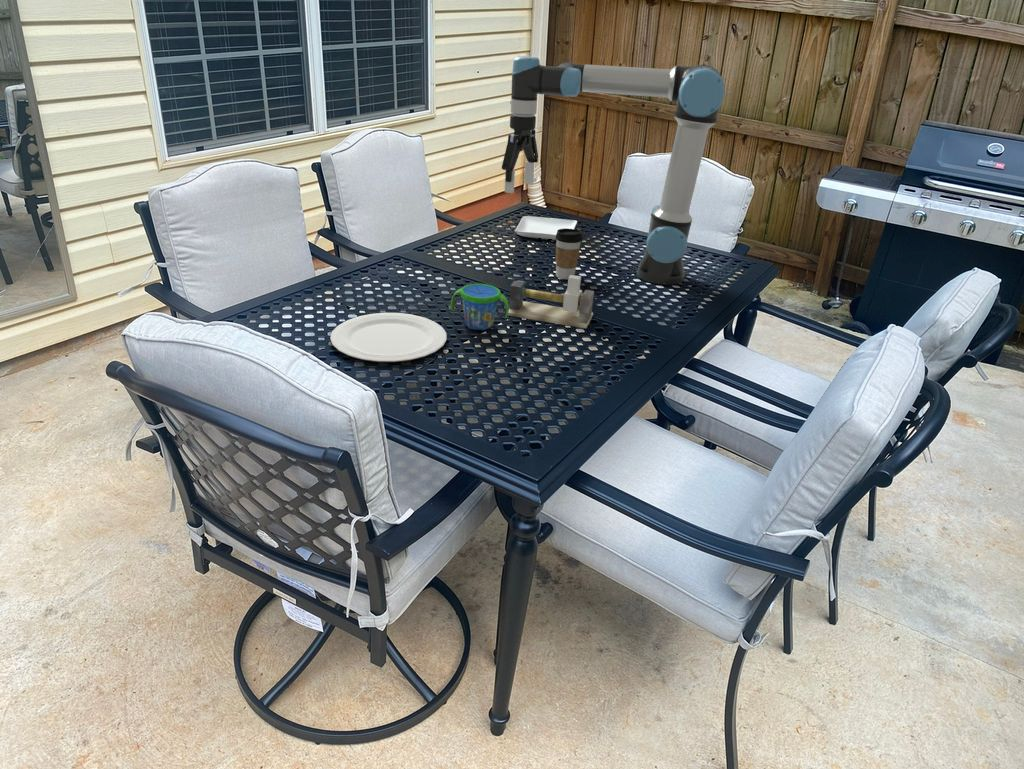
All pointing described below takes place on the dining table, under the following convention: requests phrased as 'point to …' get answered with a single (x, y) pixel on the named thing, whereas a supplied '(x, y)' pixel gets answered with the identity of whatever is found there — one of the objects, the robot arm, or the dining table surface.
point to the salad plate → (543, 227)
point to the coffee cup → (567, 252)
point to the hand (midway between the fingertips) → (519, 188)
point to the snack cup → (480, 305)
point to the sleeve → (572, 294)
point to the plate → (388, 337)
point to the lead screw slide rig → (549, 307)
